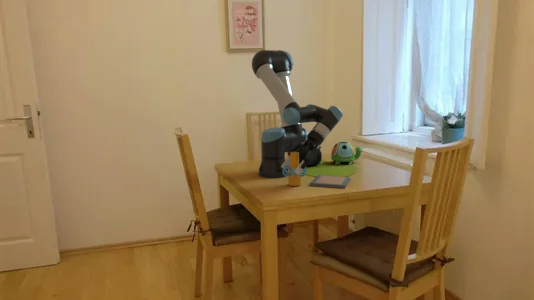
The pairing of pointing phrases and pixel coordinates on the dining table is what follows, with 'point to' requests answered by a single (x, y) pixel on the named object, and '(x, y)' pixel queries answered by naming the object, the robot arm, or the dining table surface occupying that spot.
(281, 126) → the robot arm
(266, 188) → the dining table surface
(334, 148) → the turtle holder
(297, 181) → the tube with blue rings
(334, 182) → the tray
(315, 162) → the squash
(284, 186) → the dining table surface
